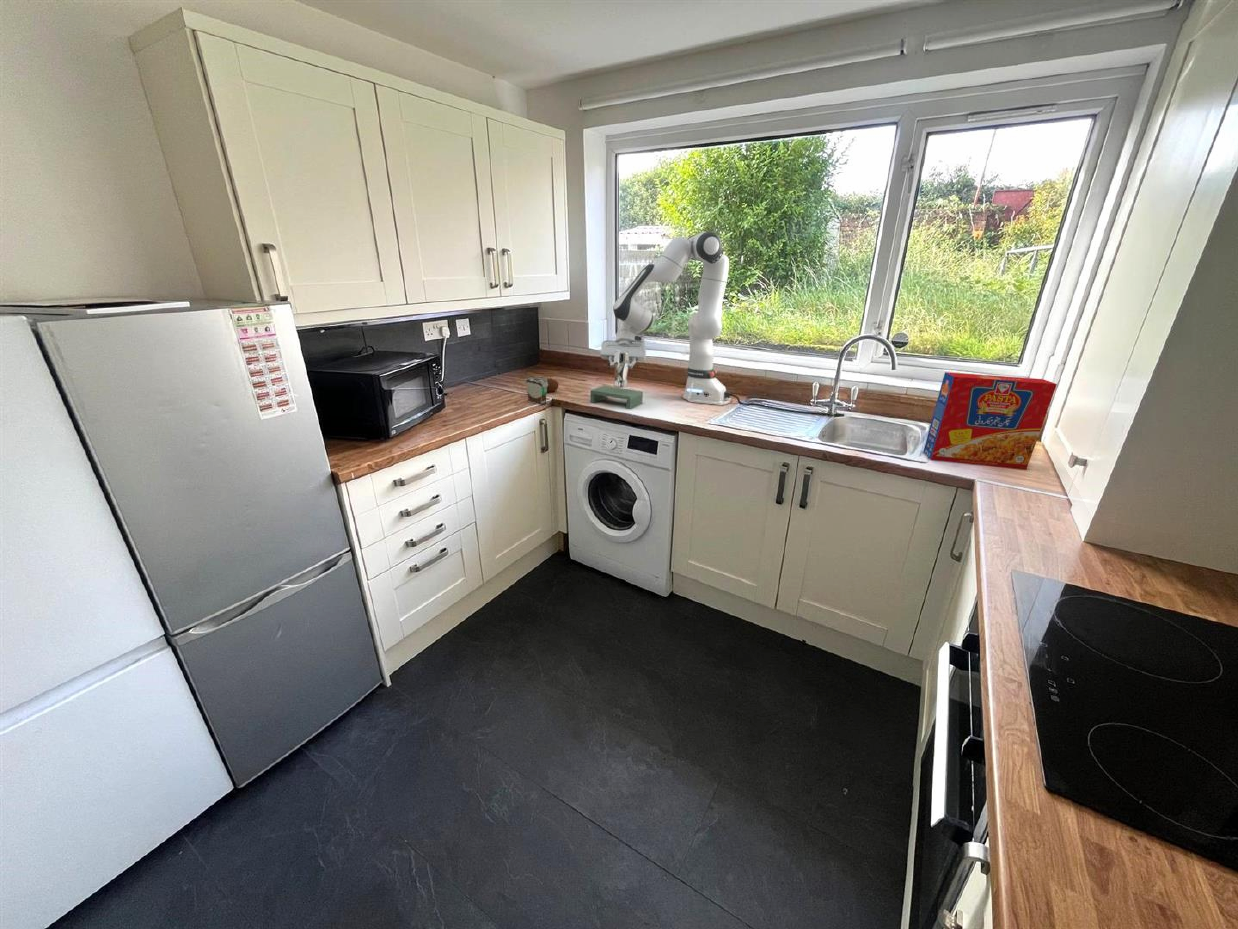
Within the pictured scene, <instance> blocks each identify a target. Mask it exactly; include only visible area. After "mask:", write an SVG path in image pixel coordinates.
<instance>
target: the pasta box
mask: <svg viewBox="0 0 1238 929" xmlns="http://www.w3.org/2000/svg"><path fill="white" fill-rule="evenodd" d="M1057 385H1058V383H1055V382H1052V381H1050V380H1047V379H1043V378H1034V377H1033V378H1032V377H1022V376H1021V377H1019V376H1007V375H1006V376H1005V375H989V374H977V373H963V372H949V371H948V372H947V371H945V372H944V374H943V378H942V381H941V386H940V389H939V392H938V395H937V400H936V402H935V406H934V411H933V414H932V417H931V421H930V426H929V429H928V433H927V436H926V440H925V443H924V448H923V450H922V453H923V454H924V455H925V456H926V457H927V458H928V459H929V460H930V461H938V462H945V463H956V464H957V463H958V464H966V465H977V466H986V467H993V468H994V467H996V468H1004V469H1005V468H1006V469H1015V470H1026V471H1027V469H1028V466H1029V463H1030V461H1031V458H1032V455H1033V454H1034V453H1033V452H1034V450H1035V448H1036V444H1037V441H1038V438H1039V437H1040V433H1041V430H1042V427H1043V425H1044V421H1045V420H1046V416H1047V414H1048V410H1049V408H1050V405H1051V402H1052V399H1053V397H1054V394H1055V391H1056V388H1057Z"/></svg>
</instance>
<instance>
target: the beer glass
mask: <svg viewBox="0 0 1238 929" xmlns="http://www.w3.org/2000/svg"><path fill="white" fill-rule="evenodd" d="M619 352H626V353H619ZM613 362H614V367H613V372H614V382H613V387H617V388H623V389H624V388H627V387H628V373H629V370H630V369H629V363H631V361H630V355H629V351H621V350H619V351H614V360H613Z"/></svg>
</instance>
